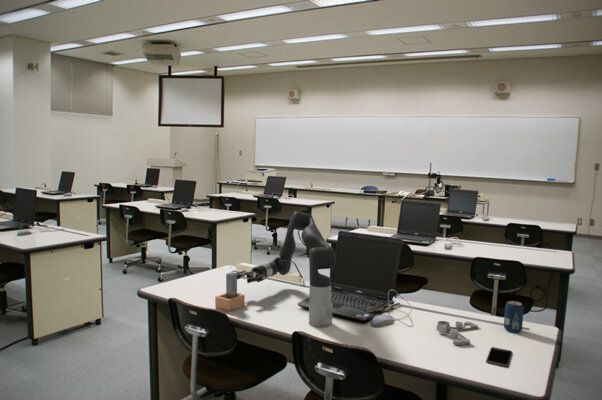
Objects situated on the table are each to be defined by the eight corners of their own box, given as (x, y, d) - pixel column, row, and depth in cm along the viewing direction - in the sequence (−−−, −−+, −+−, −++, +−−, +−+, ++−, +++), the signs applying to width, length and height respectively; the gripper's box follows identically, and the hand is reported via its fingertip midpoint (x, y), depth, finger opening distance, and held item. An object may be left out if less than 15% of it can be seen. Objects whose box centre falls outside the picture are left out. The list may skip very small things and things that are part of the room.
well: (244, 305, 207) (244, 294, 206) (229, 312, 198) (229, 300, 197) (230, 302, 212) (230, 291, 211) (215, 307, 203) (215, 296, 202)
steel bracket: (237, 304, 206) (238, 273, 204) (229, 307, 201) (229, 276, 199) (231, 302, 208) (231, 271, 207) (222, 305, 203) (222, 274, 202)
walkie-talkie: (373, 315, 197) (401, 307, 210) (373, 306, 197) (401, 298, 209) (359, 310, 204) (387, 302, 216) (359, 301, 203) (387, 293, 216)
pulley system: (428, 342, 171) (468, 349, 163) (428, 330, 171) (468, 337, 163) (443, 322, 195) (479, 328, 187) (443, 312, 194) (479, 317, 187)
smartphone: (485, 363, 152) (485, 361, 152) (491, 348, 165) (491, 346, 165) (508, 369, 149) (508, 367, 149) (512, 353, 161) (512, 350, 161)
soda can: (512, 326, 186) (514, 299, 185) (525, 332, 180) (527, 304, 179) (499, 328, 184) (501, 301, 183) (513, 334, 178) (515, 306, 176)
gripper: (251, 263, 227) (230, 269, 214) (273, 267, 219) (252, 274, 206) (251, 277, 228) (230, 284, 214) (272, 281, 220) (252, 289, 206)
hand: (241, 279), depth 210 cm, fingers open, 8 cm apart
